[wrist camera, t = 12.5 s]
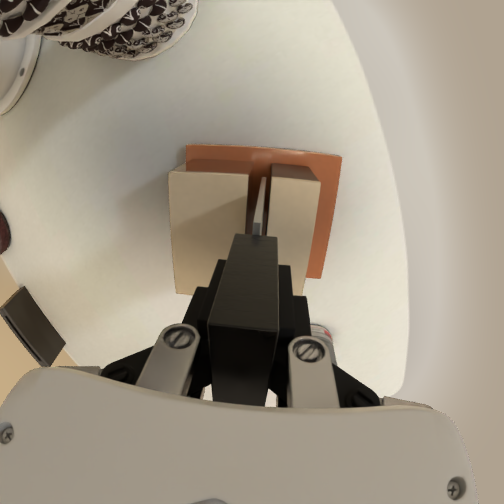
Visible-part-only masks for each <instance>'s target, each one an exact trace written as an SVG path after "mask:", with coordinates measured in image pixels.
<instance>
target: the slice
mask: <svg viewBox="0 0 504 504" xmlns="http://www.w3.org/2000/svg"><path fill="white" fill-rule="evenodd" d="M320 186H321V183H320V182H319V180H318V179H317V177H316V176H315V175H314V173H313V172H312V171H311V169H310V168H309V167H307V166H298V165H289V164H279V163H272V165H271V177H270V189H269V201H268V212H267V224H266V235H265V236H272V237H277V238H278V264H280V265H290V266H291V277H292V288H293V295H297V296H302V293H303V288H304V283H305V278H306V272H307V267H308V261H309V256H310V250H311V245H312V239H313V233H314V227H315V220H316V214H317V207H318V200H319V194H320Z"/></svg>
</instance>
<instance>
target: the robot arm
mask: <svg viewBox="0 0 504 504" xmlns="http://www.w3.org/2000/svg"><path fill="white" fill-rule="evenodd" d="M40 43H41V35H35V34H29V35H27V36H26V37H24V38H19V39H12V40H2V39H1V38H0V115H2V114H4V113H6V112H7V111H9V110H10V109H11V108H12V107H13V106H14V105H15V103H16V102H17V100H18V99H19V98H20V96H21V94H22V93H23V91H24V89H25V87H26V86H27V83H28V81H29V79H30V77H31V74H32V72H33V69H34V67H35V64H36V60H37V57H38V53H39V48H40ZM226 261H227V260H224V259H218V261H217V264H216V267H215V270H214V272H213V275H212V278H211V281H210V283H209V286H208V287H201V286H198V287H197V288H196V290H195V292H194V295H193V297H192V299H191V302H190V304H189V307H188V309H187V312H186V314H185V317H184V319H183V321H182V324H181V323H178V324H173V325H170V326H168V327H166V328H165V329H163V331H162V332H161V333H160V335H159V337H158V339H157V341H156V343H155V345H154V346H152V347H150V348H147V349H145V350H142V351H140V352H137V353H135V354H133V355H130V356H128V357H125V358H123V359H120V360H118V361H115V362H113V363H111V364H109V365H107V366H106V367H105V368H104V369H100V367H99V366H74V367H73V366H58V367H42V368H37V369H33V370H31V371H29V372H28V373H26V374H25V375H24V376H23V377H22V378H21V379H20V380H19V381H18V382H17V384H16V385H15V386H14V388H13V389H12V390H11V392H10V393H9V394H8V396H7V397H6V399H5V401H4V402H3V404H2V406H1V407H0V504H479V503H478V497H477V491H476V485H475V480H474V475H473V471H472V466H471V463H470V459H469V456H468V453H467V450H466V447H465V444H464V442H463V439H462V436H461V434H460V432H459V430H458V428H457V426H456V425H455V423H454V422H453V420H452V419H451V418H450V417H449V416H447V415H446V414H444V413H442V412H440V411H437V410H434V409H433V408H431V407H430V406H428V405H425V404H420V403H415V402H410V401H405V400H400V399H395V398H391V397H386V396H384V397H383V399H382V398H379V397H378V396H377V394H376V393H375V392H374V391H373V390H371V389H370V388H368V387H367V386H365V385H364V384H362V383H361V382H359V381H358V380H356V379H355V378H353V377H352V376H351V375H349V374H348V373H346V372H345V371H343V370H342V369H340V368H339V367H338V366H336V365H335V364H333V363H332V362H331V358H330V353H329V349H328V347H327V345H326V344H325V343H324V342H323V341H321V340H320V339H318V338H315V337H312V333H311V326H310V318H309V311H308V304H307V298H306V296H297V295H293V288H292V277H291V266H290V265H280V264H278V279H279V333H278V339H277V345H276V350H275V356H274V361H273V366H272V372H271V377H270V382H269V387H268V389H270V390H271V391H273V392H274V393H275V394H276V395H277V397H276V407H262V406H250V405H240V404H231V403H223V402H215V401H208V400H203V396H204V393H205V387H206V386H208V385H210V384H211V374H210V360H209V345H208V328H207V323H208V319H209V316H210V313H211V309H212V306H213V303H214V300H215V296H216V293H217V290H218V286H219V283H220V280H221V277H222V274H223V270H224V267H225V264H226Z"/></svg>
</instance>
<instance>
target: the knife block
mask: <svg viewBox="0 0 504 504" xmlns="http://www.w3.org/2000/svg"><path fill="white" fill-rule="evenodd" d="M0 314H1V316H2V317H3V319H4V320H5V322H6V323H7V324H8V326H9V327H10V329H11V330H12V331H13V333H14V334H15V335H16V337H17V338H18V339H19V340H20V342H21V343H22V344H23V345H24V347H25V348H26V349H27V350H28V352H29V353H30V354H31V355H32V356H33V358H34V359H36V361H37V362H38V363H39V364H40V365H41V366H42V367H50V366H51V365H52V363H53V362H54V360H55V359H56V357H57V356H58V354H59V353H60V351H61V350H62V348H63V347H64V345H65V344H66V343H65V342H64V340H63V339H62V338H61V337H60V336H59V334H58V333H57V332H56V330H55V329H54V328H53V327H52V325H51V324H50V323H49V321H48V320H47V319H46V317H45V316H44V314H43V313H42V312H41V310H40V309H39V307H38V306H37V304H36V303H35V302H34V300H33V299H32V297H31V296H30V294H29V293H28V291H27V289H26V288H25V286H24V287H22V288H20V289H19V290H17V291H16V292H15V293H14V294H13V295H12V296H11V297H10V298H9V299H8V300H7V301H6V302H5V303H4V304H3V305H2V306H1V307H0Z"/></svg>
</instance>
